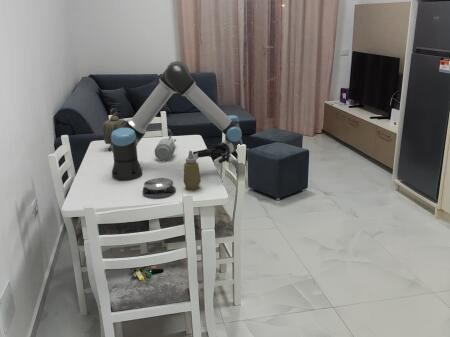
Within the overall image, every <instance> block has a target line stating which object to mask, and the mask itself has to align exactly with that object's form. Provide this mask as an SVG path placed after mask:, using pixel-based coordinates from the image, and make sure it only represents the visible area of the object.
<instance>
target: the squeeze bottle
mask: <svg viewBox="0 0 450 337" xmlns="http://www.w3.org/2000/svg"><path fill="white" fill-rule="evenodd" d="M200 172H201V171H200V167H199V163H198V162H197V159H196V158H195V157H193V150H188V157H186V158H185V162H184V164H183V183H184V186H185V189H187V190H189V191H190V190H191V191H192V190H193V191H194V190H197V189H199V187H200V184H201V180H202V179H201V174H200Z"/></svg>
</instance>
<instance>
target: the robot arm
mask: <svg viewBox="0 0 450 337" xmlns="http://www.w3.org/2000/svg"><path fill="white" fill-rule="evenodd" d="M158 80H159V83H158V84H157V86H156V87H155V88H154V90H152V91H151V93H150V94H149V96H148V98H146V100H145V101H144V102H143V104H142V105H141V106H140V107H139V109H138V110H137V112H136V113H135V115H133V117H132V118H128V119H126V120H125V121H126V122H125V124H124V125H123V126H122V127H121V128H119V129H117V130H114V131H113V132H112V134H111V141H112V146H111V149H112V154H113V165H112V166H113V167H112V170H111V177H112V179H114V180H116V181H129V180H135V179H138V178H141V176H143V169H142V167H141V164H140V162H139V160H138V149H137V146H138V144H139V142H140V141H141V140H142V139H143V137H144V136H145V135H146V134H147V131H146V130H147V127H148V126H149V125H150V123H151V122H152V121H153V120H154V119H155V117H156V116H157V115H158V113H159V112H160V111H161V110H162V109H163V107H164V106H165V105H166V104H167V102H168V100H169V99H170V98H171V97H172V96H173V94H179V95H180V96H182V97H186V99H187V100H189V102H190V103H191V104H192V105H193V106H195V107H196V108H197V109H198V110H199V111H200V112H201V113H202V114H203V115H204V116H205V117H206V118H207V119H208V120H209V121H210V122H212V123H213V125H214V126H216V127H217V129H219V130H220V132H221V133H223V134H224V140H223V141H222V142H220V143H218V144H216V145H215V146H214V148H213V149H210V148H208V147H207V148H205V149H204V148H203V149H200V150H196V151H192V153H193V157H195V158H196V160H198V159H200V158H205V157H206V158H207V157H209V158H215V157H217V158H216V159H214V160H213V166H214V167H216V166H218V165H219V164H222V163H225V162H226V163H230V162H229V161H230V157H231V154H232V153H235V152H237V151H236V149H237V145H238V144H240V145H242V146H243V140H242V136H243V134H242V133H243V132H242V129H241V127H240V119H239V116H238V115H234V114H231V115H227V114H226V113H225V112H224V110H222V109H221V108H220V107H219V106H218V105H217V104H216V103H215V102H214V101H213V100H212V99H211V98H210V97H209V96H208V95H207V94H206V93H205V92H204V91H203V90H202V89H201V88H200V87H198V85H197V84H196V81H195V79H193V77H192V75H191V73H190V69H189V67H188V66H187V65H186V64H185V62H182V61H177V60H176V61H172V62H170V63H169V64H168V65H167V68H166V69H165V70H164V72H162V74H161V75H160V77H159V79H158Z"/></svg>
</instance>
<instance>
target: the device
mask: <svg viewBox="0 0 450 337" xmlns="http://www.w3.org/2000/svg"><path fill="white" fill-rule="evenodd" d="M176 141H177V138H172V135H171V134H169V137H168V138H162V139H161V140H159V142H158V143H157V144H156V147H155V148H154V155H155V157H156V158H157V160H160V161H161V162H165V161H166V162H167V161H168V160H170V159H171V158H172V157H173V155H174V153H175V150H176V144H175V142H176Z"/></svg>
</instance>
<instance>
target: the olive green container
mask: <svg viewBox="0 0 450 337" xmlns="http://www.w3.org/2000/svg"><path fill="white" fill-rule="evenodd" d="M113 110H115V112H113ZM112 112H113V113H112ZM117 112H118V110H117V108H116V107H114V108H111V109H110V115H111V117H110V119H108V120H106V121H104V122H103V123H102V133H103V134H102V135H103V140H104V144H106V145H110V146H109V147H108V149H107V151H112V150H111V149H112V141H111V134H112V132H113V131H114V130H117V129H119V128H121V127H122V126H123V125H124V124H125V122H126V121H127V120H125V119H122V118H119V117H118V116H117Z"/></svg>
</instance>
